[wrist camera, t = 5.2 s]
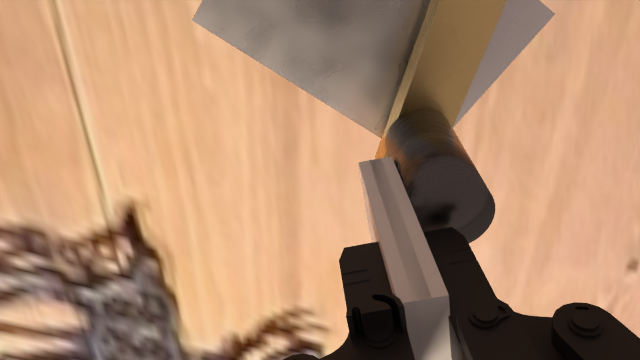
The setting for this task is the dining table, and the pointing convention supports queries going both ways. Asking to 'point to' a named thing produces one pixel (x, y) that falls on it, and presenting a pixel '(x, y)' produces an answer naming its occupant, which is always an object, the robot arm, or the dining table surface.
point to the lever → (442, 118)
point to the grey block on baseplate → (357, 46)
